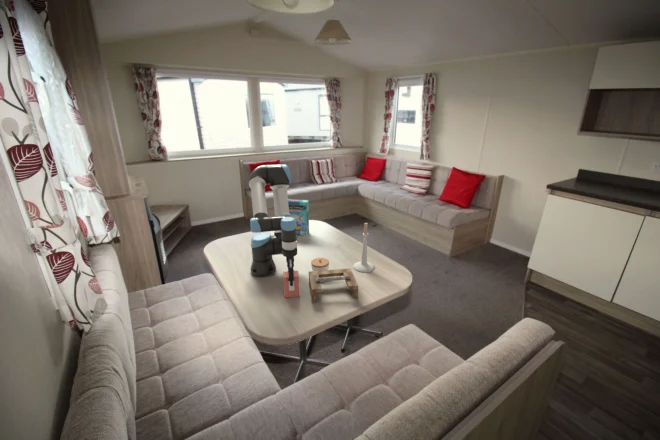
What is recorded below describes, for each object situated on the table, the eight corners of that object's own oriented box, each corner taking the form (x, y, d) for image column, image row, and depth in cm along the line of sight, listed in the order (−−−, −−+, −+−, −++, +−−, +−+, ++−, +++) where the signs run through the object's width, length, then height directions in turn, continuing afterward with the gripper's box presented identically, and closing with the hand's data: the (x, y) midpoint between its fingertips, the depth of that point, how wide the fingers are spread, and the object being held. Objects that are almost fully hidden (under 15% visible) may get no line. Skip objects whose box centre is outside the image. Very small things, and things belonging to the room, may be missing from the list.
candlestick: (378, 268, 189) (381, 224, 179) (361, 274, 183) (363, 228, 173) (365, 260, 200) (368, 217, 189) (349, 265, 194) (351, 221, 183)
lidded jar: (316, 279, 178) (315, 265, 174) (308, 271, 187) (308, 257, 183) (332, 275, 182) (332, 261, 179) (324, 267, 191) (324, 253, 188)
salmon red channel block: (284, 297, 161) (283, 277, 157) (284, 291, 166) (283, 271, 162) (299, 296, 162) (298, 276, 158) (298, 289, 168) (298, 270, 163)
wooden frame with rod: (312, 302, 156) (311, 286, 153) (308, 283, 173) (308, 268, 170) (357, 298, 160) (358, 282, 157) (350, 280, 177) (350, 265, 173)
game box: (282, 233, 241) (280, 201, 231) (284, 230, 246) (283, 198, 237) (307, 235, 237) (306, 202, 228) (309, 232, 243) (308, 200, 234)
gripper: (298, 255, 146) (299, 296, 154) (295, 239, 164) (297, 276, 172) (282, 256, 145) (284, 297, 153) (281, 240, 163) (283, 277, 171)
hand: (291, 286), depth 163 cm, fingers closed on salmon red channel block, 6 cm apart
